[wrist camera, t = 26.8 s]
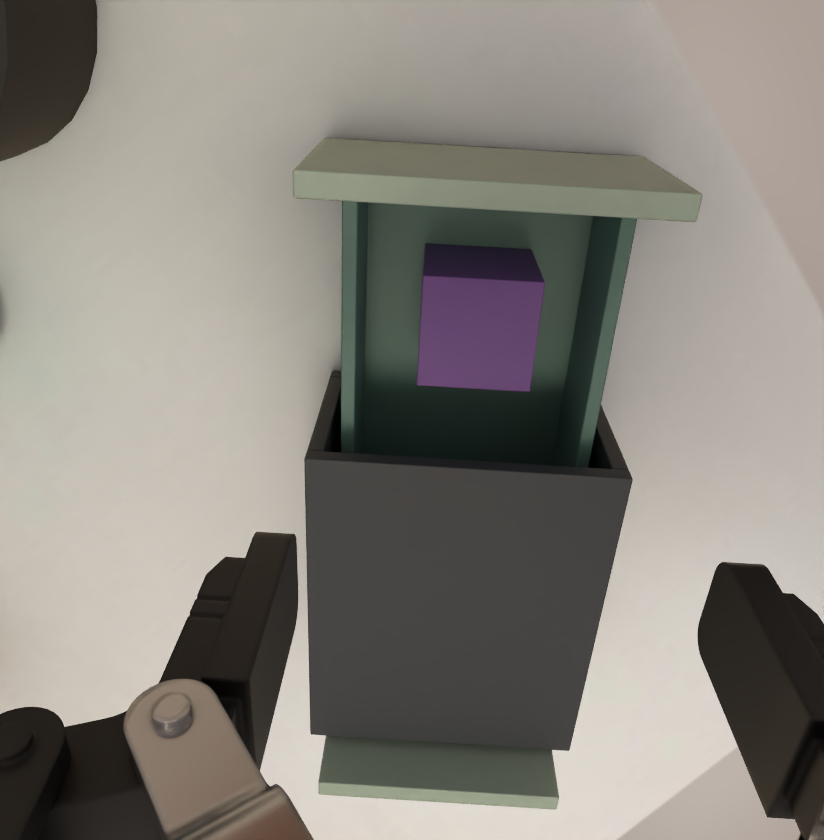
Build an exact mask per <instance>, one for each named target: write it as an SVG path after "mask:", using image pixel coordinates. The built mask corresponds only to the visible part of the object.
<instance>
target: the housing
mask: <svg viewBox="0 0 824 840" xmlns="http://www.w3.org/2000/svg"><path fill="white" fill-rule="evenodd" d="M304 460H305V504H306V549H307V594H308V638H309V683H310V728H311V734H315V735H331V736H346V737H362V738H378V739H394V740H409V741H425V742H441V743H457V744H472V745H488V746H504V747H519V748H535V749H551V750H567V751H568V750H569V749H570V745H571V741H572V736H573V732H574V728H575V724H576V719H577V715H578V711H579V707H580V702H581V698H582V694H583V689H584V685H585V681H586V677H587V672H588V668H589V664H590V659H591V655H592V651H593V647H594V642H595V638H596V634H597V630H598V625H599V621H600V617H601V612H602V608H603V604H604V600H605V595H606V591H607V587H608V583H609V578H610V574H611V570H612V565H613V561H614V557H615V553H616V548H617V544H618V540H619V535H620V531H621V527H622V523H623V518H624V514H625V510H626V506H627V501H628V497H629V493H630V488H631V484H632V480H633V479H632V477H631V474H630V472H629V470H628V468H627V465H626V463H625V460H624V458H623V456H622V453H621V451H620V449H619V446H618V444H617V442H616V439H615V437H614V435H613V432H612V430H611V427H610V425H609V423H608V420H607V418H606V416H605V413H604V411H603V409H602V406H601V405H600V410H599V415H598V420H597V425H596V430H595V435H594V440H593V445H592V450H591V455H590V461H589V466H588V468H585V467H568V466H552V465H536V464H520V463H503V462H487V461H471V460H455V459H439V458H422V457H406V456H390V455H374V454H357V453H341V372H336V371H333V372H332V373H331V376H330V379H329V383H328V386H327V389H326V392H325V395H324V399H323V402H322V405H321V408H320V412H319V415H318V418H317V421H316V424H315V428H314V431H313V434H312V437H311V440H310V444H309V447H308V450H307V453H306V456H305V459H304Z"/></svg>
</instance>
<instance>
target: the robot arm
mask: <svg viewBox="0 0 824 840" xmlns="http://www.w3.org/2000/svg"><path fill="white" fill-rule="evenodd" d="M297 610H298V575H297V544H296V536H295V534H283V533H267V532H256V533H255V534H254V536H253V539H252V542H251V544H250V547H249V550H248V552H247V555H246V558H234V557H225V558H224V559H223V560H222V561H220V562H219V563H218V564H217V565H216V566H215V567H214V568H213V569H212V570H211V571H210V572H209V573H207V574H206V577H205V579H204V581H203V583H202V586H201V588H200V590H199V593H198V595H197V599H196V600H195V602H194V604H193V606H192V609H191V611H190V616H189V617H188V618H187V620H186V623H185V625H184V627H183V629H182V632H181V634H180V636H179V639H178V641H177V643H176V645H175V648H174V650H173V652H172V655H171V657H170V659H169V662H168V664H167V666H166V668H165V671H164V673H163V675H162V678H161V680H160V682H159V683H158V684H157V685H155V686H153V687H151V688H149V689H147V690H146V691H144V692H143V693H142V694H141V695H139V696H138V697H137V698H136V699H135V700H134V701H133V703H132V704H131V705H130V707H129V709H128V710H127V711H126V712H124V713H121V714H119V715H116V716H113V717H110V718H106V719H101V720H96V721H92V722H87V723H82V724H77V725H72V726H68V727H64V725H63V722H62V720H61V719H60V718H59V716H58V715H56V714H55V713H54V712H52V711H50V710H48V709H44V708H39V707H24V708H18V709H14V710H10V711H7V712H4V713H2V714H0V840H314V839H313V838H312V836H311V834H310V833H309V831H308V829H307V827H306V826H305V824H304V822H303V821H302V819H301V817H300V815H299V814H298V812H297V810H296V809H295V807H294V805H293V803H292V802H291V800H290V798H289V797H288V795H287V794H286V792H285V791H284V790H283V789H282V788H281V787H280V786H279V785H277V784H275V785H273V786H271V787H270V786H269V785H268V784H267V783H266V781H265V780H264V778H263V776H262V775H261V773H260V767H261V763H262V759H263V755H264V751H265V747H266V743H267V739H268V735H269V731H270V727H271V723H272V719H273V715H274V711H275V707H276V703H277V699H278V695H279V691H280V687H281V683H282V679H283V675H284V671H285V666H286V662H287V658H288V654H289V650H290V646H291V642H292V638H293V634H294V630H295V625H296V619H297ZM698 646H699V651H700V655H701V658H702V660H703V663H704V665H705V668H706V670H707V672H708V675H709V677H710V680H711V682H712V685H713V687H714V689H715V692H716V694H717V697H718V699H719V701H720V704H721V706H722V709H723V711H724V714H725V716H726V718H727V721H728V723H729V726H730V728H731V730H732V733H733V735H734V738H735V740H736V743H737V745H738V747H739V750H740V752H741V755H742V757H743V759H744V762H745V764H746V767H747V769H748V771H749V774H750V776H751V779H752V781H753V784H754V786H755V788H756V791H757V793H758V796H759V798H760V801H761V803H762V805H763V808H764V810H765V813H766V815H767V817H771V818H786V819H795V821H796V823H797V825H798V828H799V830H800V834H799V836H798V839H797V840H824V624H823V622H822V621H821V619H820V618H819V616H818V614H816V613H815V612H814V611H813V610H812V609H811V608H809V607H808V606H807V605H806V604H805V603H804V602H802V601H801V600H800V599H799V598H798V597H797V596H795V595H794V594H787V593H783V592H782V591H781V589H780V588H779V586H778V584H777V583H776V581H775V579H774V578H773V576H772V574H771V573H770V571H769V570H768V568H767V567H766V566H764V565H761V564H745V563H728V562H722V563H720V564H719V565H718V566H717V568H716V571H715V573H714V577H713V580H712V583H711V586H710V589H709V593H708V596H707V599H706V602H705V605H704V609H703V612H702V615H701V618H700V622H699V626H698Z"/></svg>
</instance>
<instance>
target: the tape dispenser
mask: <svg viewBox="0 0 824 840" xmlns="http://www.w3.org/2000/svg"><path fill="white" fill-rule="evenodd" d="M96 53H97V26H96V2H95V0H0V161H3V160H6V159H9V158H12V157H15V156H18V155H20V154H22V153H24V152H27V151H29V150H31V149H33V148H36V147H38V146H40V145H42V144H44V143H47V142H48V141H49V140H51V139H52V138H53V137H54V136H55V135H56V134H57V133H58V132H59V131H60V130H61V129H62V128H64V127H65V126H66V125H67V124H68V123H69V122H70V121H71V120H72V118H73V117H74V115H75V113H76V111H77V109H78V107H79V106H80V104H81V102H82V100H83V98H84V97H85V95H86V93H87V91H88V88H89V84H90V79H91V75H92V70H93V66H94V62H95V57H96Z"/></svg>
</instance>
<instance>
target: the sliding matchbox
mask: <svg viewBox="0 0 824 840" xmlns="http://www.w3.org/2000/svg"><path fill="white" fill-rule="evenodd" d="M293 196H294V198H301V199H318V200H334V201H342V324H341V453H357V454H374V455H390V456H406V457H422V458H439V459H455V460H471V461H487V462H503V463H520V464H536V465H552V466H568V467H585V468H588V466H589V461H590V455H591V450H592V445H593V440H594V435H595V430H596V425H597V420H598V415H599V410H600V405H601V400H602V395H603V390H604V384H605V379H606V374H607V369H608V364H609V359H610V354H611V349H612V344H613V339H614V334H615V329H616V324H617V319H618V313H619V308H620V303H621V298H622V293H623V288H624V283H625V278H626V273H627V268H628V263H629V258H630V253H631V248H632V242H633V237H634V232H635V227H636V222H637V219H652V220H668V221H685V222H696V220H697V216H698V212H699V208H700V204H701V199H702V194H701V193H700V192H698V191H696V190H695V189H693V188H692V187H690V186H689V185H687V184H686V183H684V182H683V181H681V180H679V179H678V178H676V177H675V176H673V175H672V174H670V173H669V172H667V171H665V170H664V169H662V168H661V167H659V166H658V165H656V164H655V163H653V162H652V161H650V160H648V159H647V158H645V157H638V156H621V155H604V154H587V153H570V152H554V151H537V150H520V149H503V148H486V147H469V146H453V145H436V144H419V143H402V142H385V141H368V140H352V139H335V138H325V139H324V140H323V141H322V142H321V143H320V144H319V145H318V146H317V147H316V148H315V149H314V150H313V151H312V152H311V153H310V154H309V155H308V156H307V157H306V158H305V159H304V160H303V161H302V162H301V163H300V164H299V165H298V166H297V167H296V168H295V169H294V170H293ZM426 243H428V244H446V245H464V246H481V247H499V248H516V249H531V250H532V252H533V254H534V257H535V259H536V261H537V264H538V266H539V269H540V271H541V274H542V276H543V279H544V281H545V289H544V296H543V303H542V310H541V318H540V325H539V332H538V339H537V346H536V353H535V360H534V367H533V375H532V382H531V389H530V392H522V391H505V390H488V389H470V388H453V387H436V386H419V385H417V368H418V351H419V333H420V316H421V298H422V280H423V265H424V250H425V244H426ZM319 794H321V795H337V796H352V797H368V798H384V799H399V800H415V801H430V802H446V803H462V804H477V805H493V806H509V807H524V808H540V809H557V804H558V800H559V794H558V788H557V781H556V775H555V768H554V762H553V755H552V750H551V749H535V748H519V747H504V746H488V745H472V744H457V743H441V742H425V741H409V740H394V739H378V738H362V737H346V736H331V735H326V739H325V745H324V752H323V758H322V764H321V770H320V777H319Z"/></svg>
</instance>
